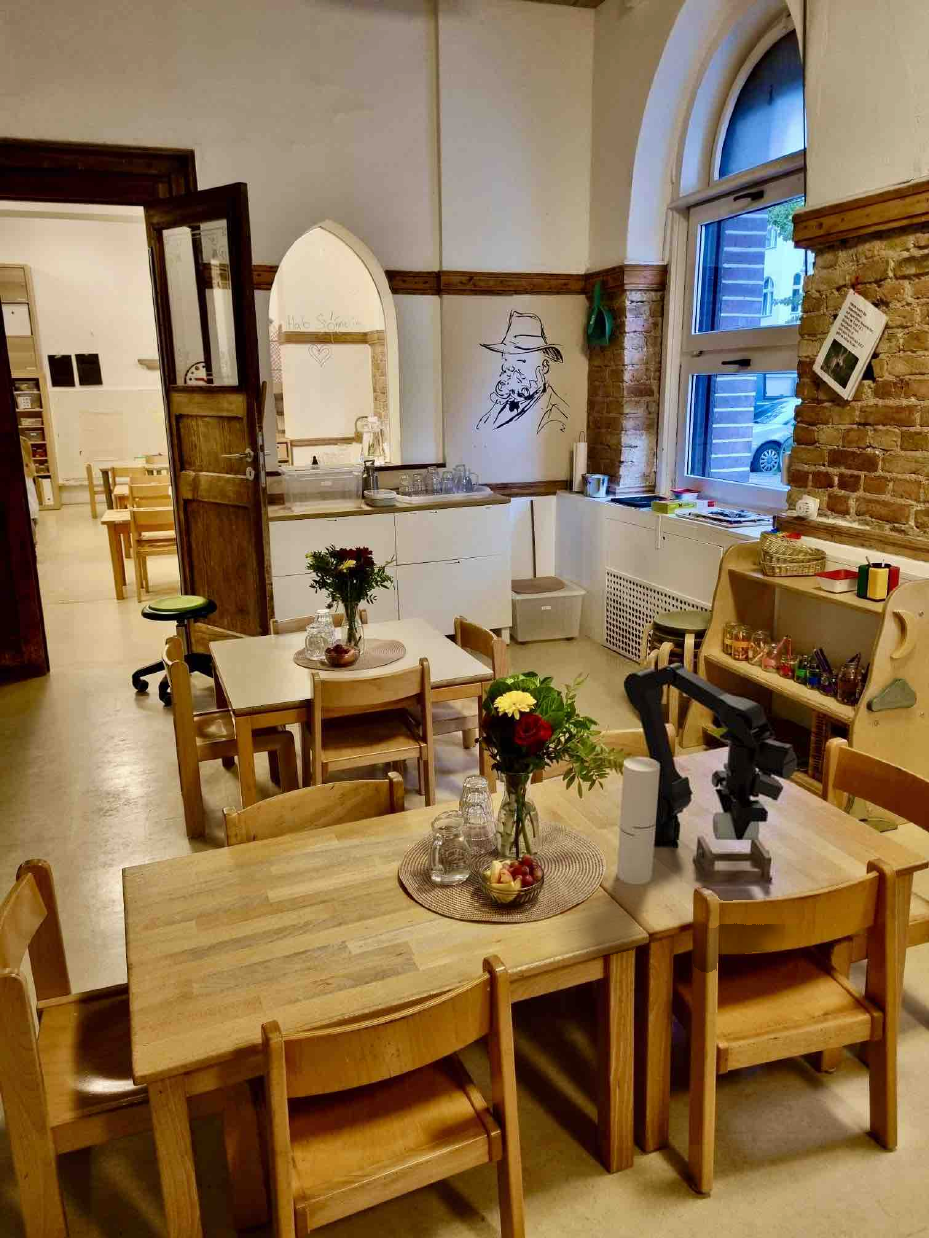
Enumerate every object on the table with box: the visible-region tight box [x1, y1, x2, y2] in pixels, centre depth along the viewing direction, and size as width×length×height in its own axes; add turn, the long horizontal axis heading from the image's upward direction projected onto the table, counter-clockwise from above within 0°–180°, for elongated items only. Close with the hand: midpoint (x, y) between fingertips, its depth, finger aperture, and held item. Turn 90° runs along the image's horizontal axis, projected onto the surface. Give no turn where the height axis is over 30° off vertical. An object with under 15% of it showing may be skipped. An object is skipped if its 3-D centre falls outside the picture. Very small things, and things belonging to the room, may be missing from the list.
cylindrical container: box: [616, 756, 660, 885], centre depth 187 cm, size 7×7×25 cm
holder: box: [692, 835, 773, 883], centre depth 192 cm, size 15×9×6 cm, turn 91°
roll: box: [712, 812, 760, 841], centre depth 190 cm, size 9×6×6 cm, turn 91°
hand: (734, 832), depth 191 cm, fingers closed on roll, 5 cm apart
